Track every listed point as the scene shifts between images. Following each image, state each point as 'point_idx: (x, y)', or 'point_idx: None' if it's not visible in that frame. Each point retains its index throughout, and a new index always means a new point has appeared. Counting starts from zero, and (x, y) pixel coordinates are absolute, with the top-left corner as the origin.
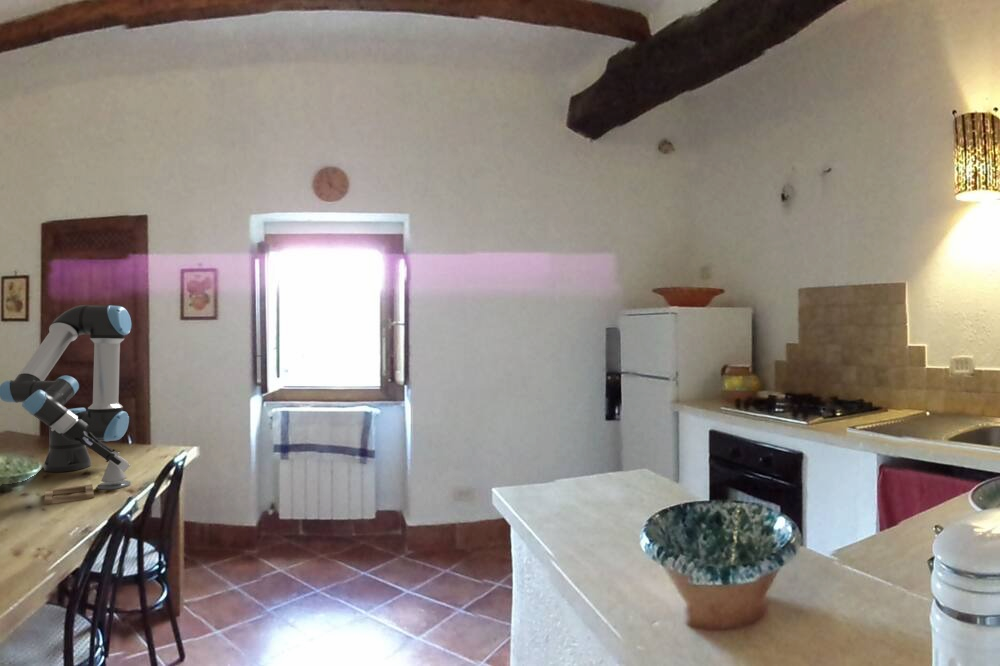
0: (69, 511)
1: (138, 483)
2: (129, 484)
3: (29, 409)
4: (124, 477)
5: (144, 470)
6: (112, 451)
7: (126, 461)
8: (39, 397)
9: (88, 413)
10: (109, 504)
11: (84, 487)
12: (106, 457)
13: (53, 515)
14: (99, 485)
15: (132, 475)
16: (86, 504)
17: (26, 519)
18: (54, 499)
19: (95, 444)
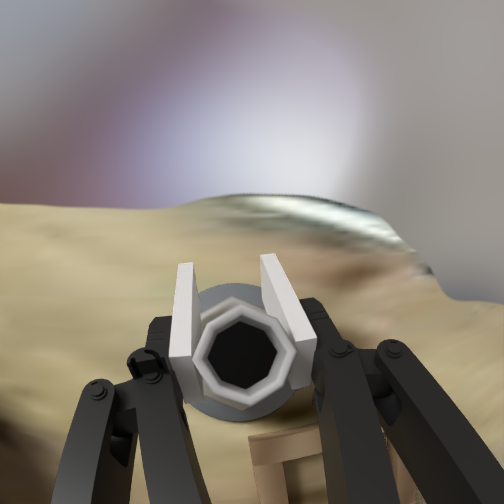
0: (490, 410)
1: (238, 253)
2: (256, 287)
3: None
4: (247, 303)
5: (31, 239)
6: (168, 374)
7: (192, 275)
8: None
9: None
10: (475, 321)
11: (281, 463)
12: (393, 391)
13: (498, 432)
14: (235, 413)
15: (77, 281)
16: (458, 391)
17: None
18: (414, 495)
19: (500, 486)
